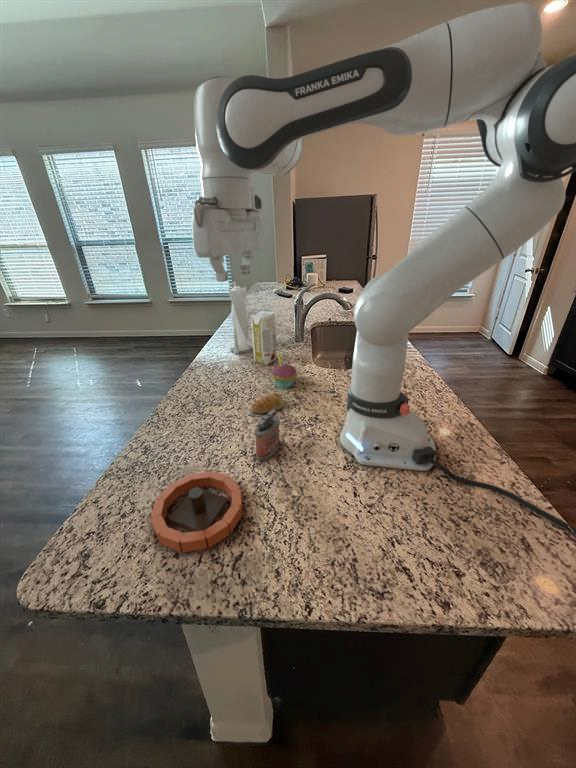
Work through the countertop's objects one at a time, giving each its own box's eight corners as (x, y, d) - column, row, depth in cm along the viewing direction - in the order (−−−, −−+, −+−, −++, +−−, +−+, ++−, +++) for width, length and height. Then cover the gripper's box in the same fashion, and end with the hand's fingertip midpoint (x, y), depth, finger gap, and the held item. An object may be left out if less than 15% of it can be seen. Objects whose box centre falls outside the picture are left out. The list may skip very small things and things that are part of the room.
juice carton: (279, 358, 126) (277, 312, 117) (266, 366, 119) (264, 317, 111) (264, 355, 129) (261, 309, 121) (251, 362, 123) (247, 314, 114)
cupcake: (267, 388, 103) (265, 354, 98) (278, 377, 110) (276, 345, 105) (291, 392, 101) (291, 358, 95) (300, 381, 108) (300, 349, 102)
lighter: (264, 462, 72) (262, 426, 67) (252, 457, 73) (249, 422, 69) (283, 443, 78) (282, 409, 73) (272, 439, 79) (270, 405, 75)
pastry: (260, 418, 88) (259, 406, 86) (247, 409, 92) (246, 397, 91) (286, 407, 93) (285, 396, 91) (272, 398, 98) (272, 387, 96)
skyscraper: (230, 347, 138) (223, 282, 125) (247, 345, 141) (242, 280, 128) (235, 354, 131) (228, 285, 118) (253, 351, 134) (249, 283, 121)
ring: (256, 492, 64) (255, 483, 63) (211, 564, 50) (209, 555, 49) (190, 473, 69) (188, 464, 68) (134, 533, 56) (131, 524, 55)
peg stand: (228, 501, 62) (225, 483, 59) (205, 535, 55) (201, 516, 53) (194, 491, 64) (191, 472, 62) (168, 522, 58) (163, 503, 55)
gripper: (209, 194, 48) (220, 287, 54) (266, 201, 65) (269, 271, 71) (176, 196, 50) (190, 285, 56) (239, 202, 67) (245, 270, 73)
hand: (235, 277), depth 64 cm, fingers open, 8 cm apart
